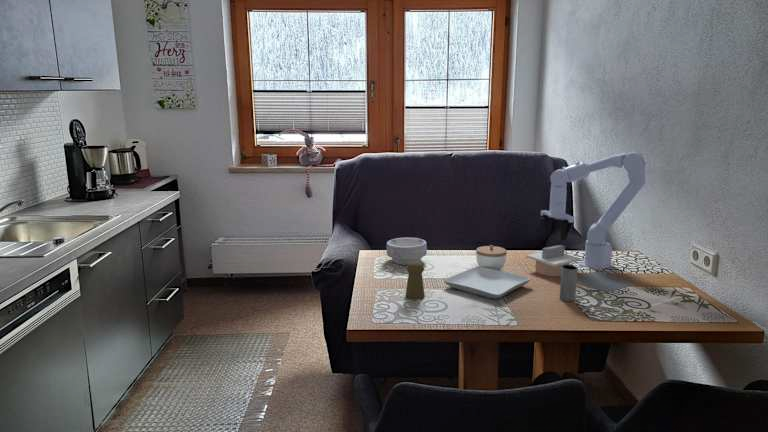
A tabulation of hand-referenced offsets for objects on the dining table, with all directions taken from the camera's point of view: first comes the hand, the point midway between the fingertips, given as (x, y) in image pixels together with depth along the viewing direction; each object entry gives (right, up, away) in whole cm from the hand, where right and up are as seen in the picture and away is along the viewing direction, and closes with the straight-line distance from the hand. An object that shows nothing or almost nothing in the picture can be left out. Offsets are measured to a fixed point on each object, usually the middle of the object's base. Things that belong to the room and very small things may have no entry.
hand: (555, 237), depth 204 cm
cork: (-55, -17, -34) cm, 67 cm away
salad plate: (-31, -16, -26) cm, 43 cm away
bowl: (-5, -12, -11) cm, 17 cm away
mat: (+8, -14, -22) cm, 27 cm away
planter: (-8, -18, -37) cm, 41 cm away
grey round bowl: (-56, -10, +2) cm, 57 cm away
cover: (-5, -7, -12) cm, 15 cm away
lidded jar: (-26, -12, -9) cm, 30 cm away
